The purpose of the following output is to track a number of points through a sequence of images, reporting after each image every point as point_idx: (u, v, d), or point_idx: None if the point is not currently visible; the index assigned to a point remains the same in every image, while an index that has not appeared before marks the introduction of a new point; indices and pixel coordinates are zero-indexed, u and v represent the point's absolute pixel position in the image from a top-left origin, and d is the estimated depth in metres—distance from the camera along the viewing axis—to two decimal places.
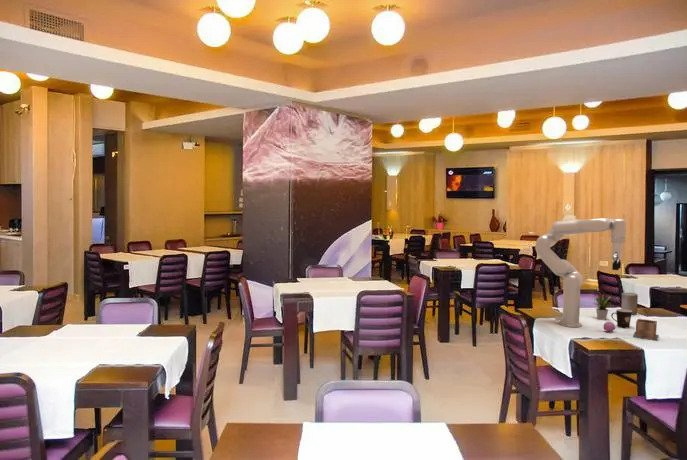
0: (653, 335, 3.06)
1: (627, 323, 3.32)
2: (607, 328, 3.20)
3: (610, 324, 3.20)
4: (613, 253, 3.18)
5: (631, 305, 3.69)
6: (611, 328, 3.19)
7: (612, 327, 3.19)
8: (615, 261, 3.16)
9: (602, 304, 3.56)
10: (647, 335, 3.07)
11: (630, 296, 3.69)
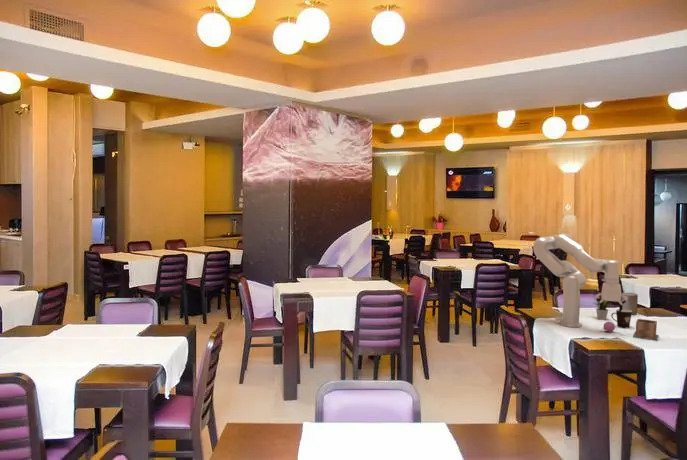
0: (653, 335, 3.06)
1: (627, 323, 3.32)
2: (607, 328, 3.20)
3: (610, 324, 3.20)
4: (620, 295, 3.17)
5: (631, 305, 3.69)
6: (611, 328, 3.19)
7: (612, 327, 3.19)
8: (624, 302, 3.17)
9: None
10: (647, 335, 3.07)
11: (630, 296, 3.69)
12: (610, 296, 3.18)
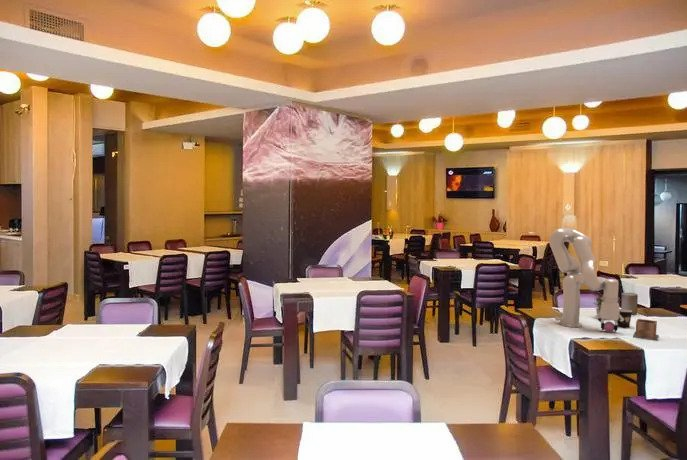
0: (653, 335, 3.06)
1: (627, 323, 3.32)
2: (607, 328, 3.20)
3: (610, 324, 3.20)
4: (619, 316, 3.18)
5: (631, 305, 3.69)
6: (611, 328, 3.19)
7: (612, 327, 3.19)
8: (619, 323, 3.19)
9: None
10: (647, 335, 3.07)
11: (630, 296, 3.69)
12: (608, 315, 3.19)
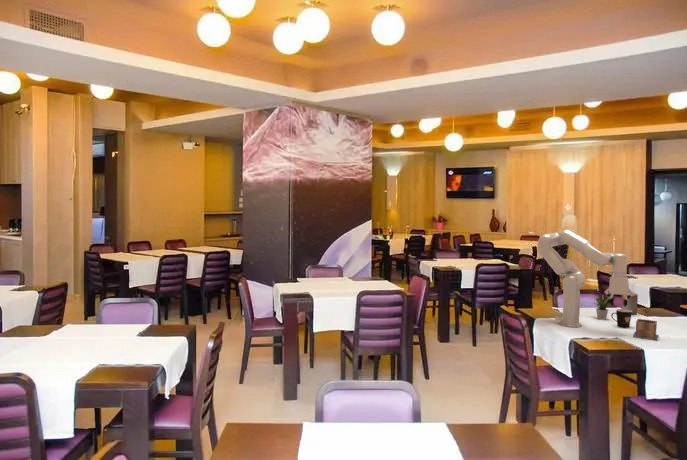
0: (653, 335, 3.06)
1: (627, 323, 3.32)
2: (617, 303, 3.17)
3: (620, 299, 3.16)
4: (628, 290, 3.14)
5: (631, 305, 3.69)
6: (621, 303, 3.16)
7: (622, 302, 3.16)
8: (629, 297, 3.16)
9: (602, 304, 3.56)
10: (647, 335, 3.07)
11: None
12: (618, 290, 3.16)
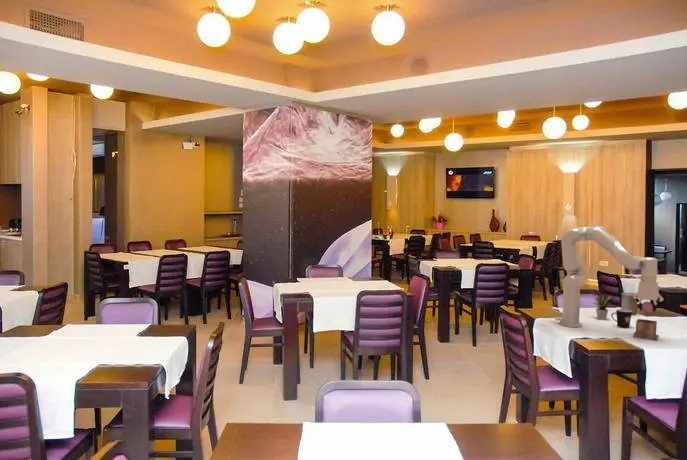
0: (653, 335, 3.06)
1: (627, 323, 3.32)
2: (646, 308, 3.09)
3: (649, 304, 3.09)
4: (658, 295, 3.06)
5: (631, 305, 3.69)
6: (650, 308, 3.08)
7: (651, 307, 3.08)
8: None
9: (602, 304, 3.56)
10: (647, 335, 3.07)
11: (630, 296, 3.69)
12: (647, 294, 3.08)
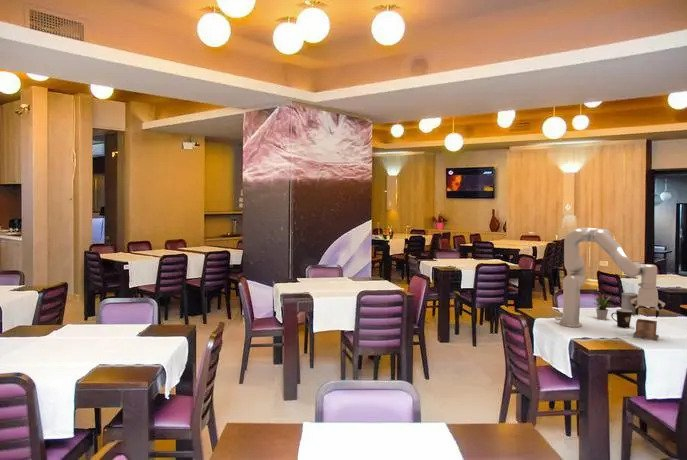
0: (653, 335, 3.06)
1: (627, 323, 3.32)
2: None
3: None
4: (657, 301, 3.07)
5: (631, 305, 3.69)
6: None
7: None
8: (661, 308, 3.07)
9: (602, 304, 3.56)
10: (647, 335, 3.07)
11: (630, 296, 3.69)
12: (646, 301, 3.08)
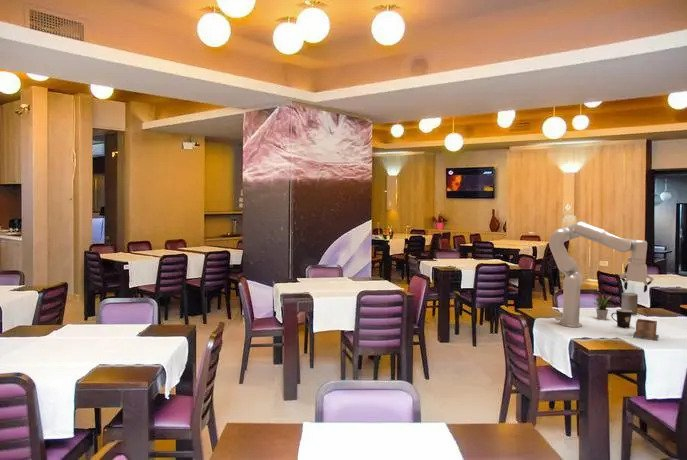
0: (653, 335, 3.06)
1: (627, 323, 3.32)
2: None
3: None
4: (646, 276, 3.13)
5: (631, 305, 3.69)
6: None
7: None
8: (649, 283, 3.14)
9: (602, 304, 3.56)
10: (647, 335, 3.07)
11: (630, 296, 3.69)
12: (635, 276, 3.15)
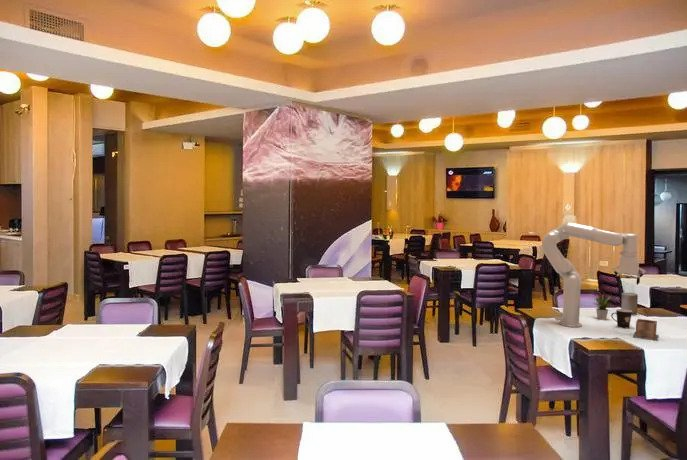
0: (653, 335, 3.06)
1: (627, 323, 3.32)
2: None
3: None
4: (638, 268, 3.18)
5: (631, 305, 3.69)
6: None
7: None
8: (642, 275, 3.19)
9: (602, 304, 3.56)
10: (647, 335, 3.07)
11: (630, 296, 3.69)
12: (628, 269, 3.20)
